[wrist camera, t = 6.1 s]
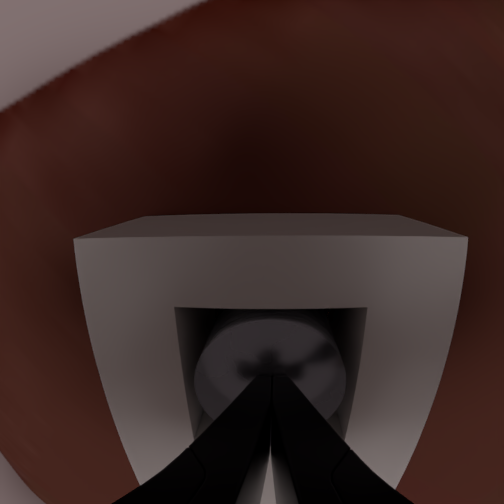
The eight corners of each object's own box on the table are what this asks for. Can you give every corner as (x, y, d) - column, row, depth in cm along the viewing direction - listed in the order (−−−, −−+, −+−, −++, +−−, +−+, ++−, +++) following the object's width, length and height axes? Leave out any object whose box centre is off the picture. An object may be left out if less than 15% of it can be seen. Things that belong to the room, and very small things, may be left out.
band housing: (398, 214, 11) (468, 237, 7) (334, 522, 16) (340, 574, 11) (144, 216, 12) (73, 238, 7) (200, 520, 17) (188, 571, 12)
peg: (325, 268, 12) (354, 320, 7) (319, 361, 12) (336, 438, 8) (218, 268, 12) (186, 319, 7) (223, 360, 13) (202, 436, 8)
